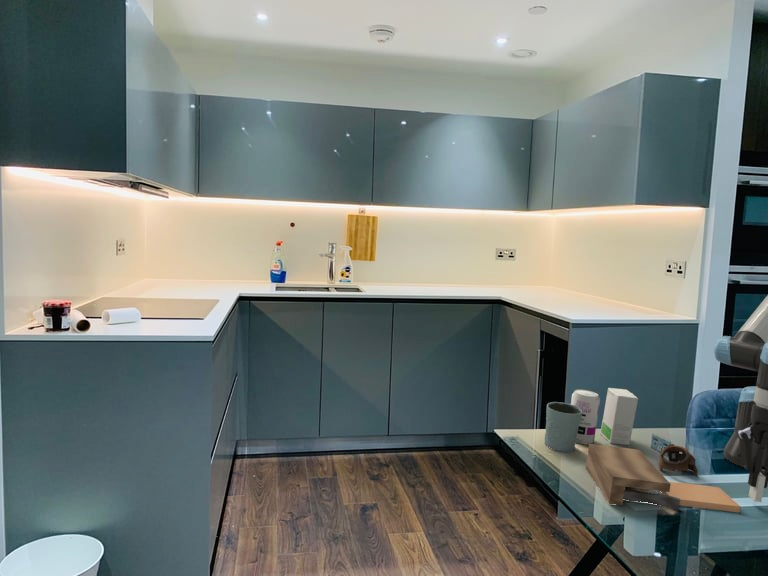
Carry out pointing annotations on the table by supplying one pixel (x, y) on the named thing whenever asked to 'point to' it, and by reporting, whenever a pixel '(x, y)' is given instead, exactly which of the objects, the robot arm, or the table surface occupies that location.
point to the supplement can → (586, 414)
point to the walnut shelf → (627, 476)
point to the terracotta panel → (702, 497)
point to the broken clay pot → (677, 459)
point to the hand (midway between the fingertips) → (754, 499)
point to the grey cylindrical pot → (562, 426)
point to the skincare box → (619, 416)
